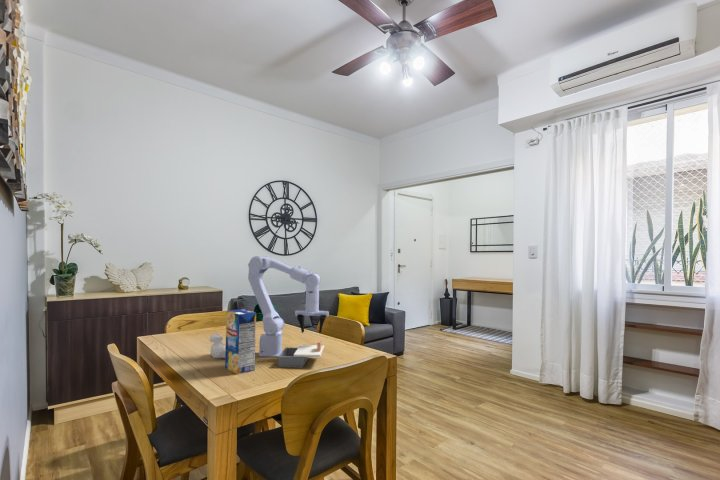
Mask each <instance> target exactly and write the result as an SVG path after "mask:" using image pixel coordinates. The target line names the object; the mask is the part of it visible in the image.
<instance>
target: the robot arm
mask: <svg viewBox="0 0 720 480" xmlns="http://www.w3.org/2000/svg"><path fill="white" fill-rule="evenodd" d="M247 266H248V275H247V278H248V282H249V284H250V287H251V289H252V291H253V294H254V297H255V299H256V301H257V304H258V307H259V309H260V310H261V313H262V316H263V317H262V323H263V331H264V333H261V334H260V336H259V349H258V352H259V353H258V357H270V358H271V357H277V358H278V356H279V355H280V354H281V352H282V351H283V329H284V327H285V320H284V319H283V318H282V317H280V315H279V313H278V312H277V311H276V310H275V307H274V306H273V302H272V301H271V298H270V296H269V294H268V291H267V289H266V287H265V284H264V281H263V280H262V278H263V276H264V274H265V272H267V271H268V270H269V269H275V270H276V271H277V270H278V271H280V272H283V273H285V274H287V275H289V277H290V278H291V280H295V281H297V282H299V283H301V284H303V285H305V310H295V311H294V313H295V314H294V316H295V317H296V316H297V317H296V319H297V321H298V323H299V326H300V329H301V333H302V334H303V333H304V332H305V316H306V317H310V316H312V317H313V316H315V317H319V327H318V328H319V331H318V333H319V334H321V333H322V330H323V325H324V323H325V320H326V319H327V317H329V315H330V312H329V311H328V310H320V309H319V306H320V305H319V304H320V286H319V285H320V283H321V277H320V275H319V274H317V273H316V272H312V271H311V270H306V269H304V268H302V266H300V265H298V266H294V267H292V266H290V265H287V264H285V263H283V262H281V261H279V260H277V259H275V258H272V257H268V256H266V255H263V256H252V258H251V259H250V260H249V262H248V264H247Z"/></svg>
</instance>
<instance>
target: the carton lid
mask: <svg viewBox="0 0 720 480" xmlns="http://www.w3.org/2000/svg"><path fill="white" fill-rule="evenodd" d="M322 344H323V343H322V339H318V341H317V342H316V344H299V346H298V347H297V348H298V349H297V350H296V352H295V353H294V357H308V358H320V357H322V353H323V351H324V349H325V345H322Z"/></svg>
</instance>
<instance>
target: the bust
mask: <svg viewBox="0 0 720 480" xmlns="http://www.w3.org/2000/svg"><path fill="white" fill-rule="evenodd" d="M223 339H224V337H223V336H222V335H220V334H219V333H214V334H211V335H210V338H209V342H211V343H212V345H211V346H210V350H209V351H210V355H211V356H212V357H213V358H214V359H225V351H226V343H223V342H222V341H223Z"/></svg>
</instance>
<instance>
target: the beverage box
mask: <svg viewBox="0 0 720 480" xmlns="http://www.w3.org/2000/svg"><path fill="white" fill-rule="evenodd" d="M225 320H226V321H225V346H226V351H225V358H224V359H225V360H224V367H225V369H227V370H229V371H231V372H233V373H235V374H236V375H241V374H244V373H249V372H254V371H256V370H255V366H256V365H255V364H256V363H255V362H256V330H257V328H256V323H257V312H255V311H252V310H248V309H245V308H240V309H230V310H226V319H225Z"/></svg>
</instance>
